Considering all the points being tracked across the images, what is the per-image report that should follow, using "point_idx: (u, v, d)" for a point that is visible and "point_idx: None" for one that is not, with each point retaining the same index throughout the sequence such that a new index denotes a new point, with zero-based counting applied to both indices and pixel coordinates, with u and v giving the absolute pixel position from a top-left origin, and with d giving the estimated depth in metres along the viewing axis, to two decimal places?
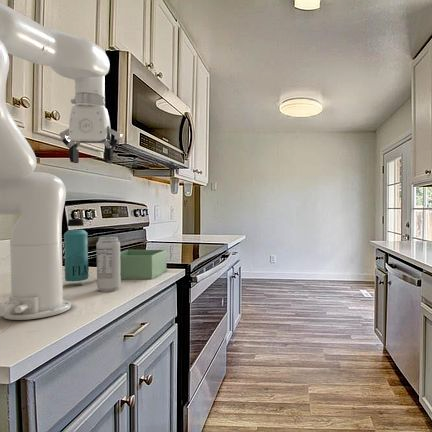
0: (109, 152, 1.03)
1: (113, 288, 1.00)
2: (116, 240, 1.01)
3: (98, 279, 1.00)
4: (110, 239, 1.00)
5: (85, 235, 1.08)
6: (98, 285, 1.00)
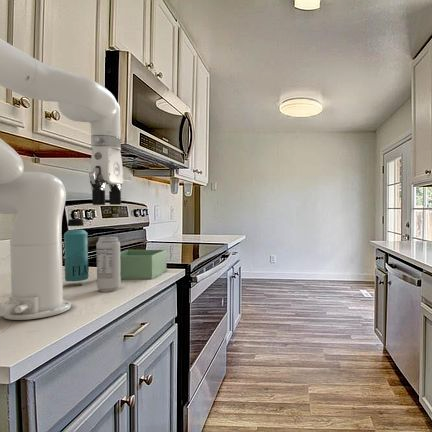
0: None
1: (113, 288, 1.00)
2: (116, 240, 1.01)
3: (98, 279, 1.00)
4: (110, 239, 1.00)
5: (85, 235, 1.08)
6: (98, 285, 1.00)
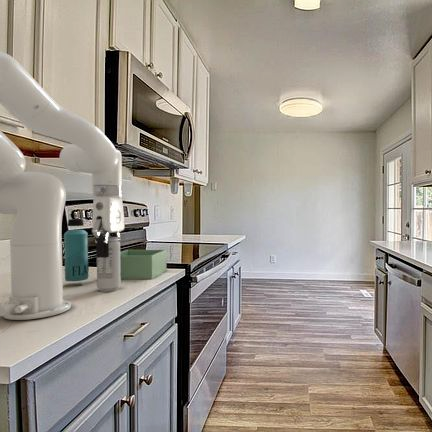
0: None
1: (113, 288, 1.00)
2: (116, 240, 1.01)
3: (98, 279, 1.00)
4: (110, 239, 1.00)
5: (85, 235, 1.08)
6: (98, 285, 1.00)
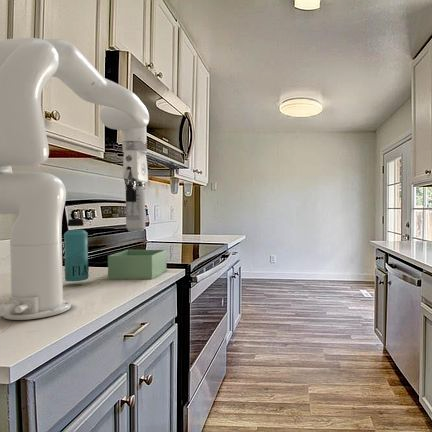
0: None
1: (139, 228, 1.19)
2: (142, 188, 1.20)
3: (127, 220, 1.19)
4: (137, 187, 1.19)
5: (85, 235, 1.08)
6: (127, 225, 1.19)
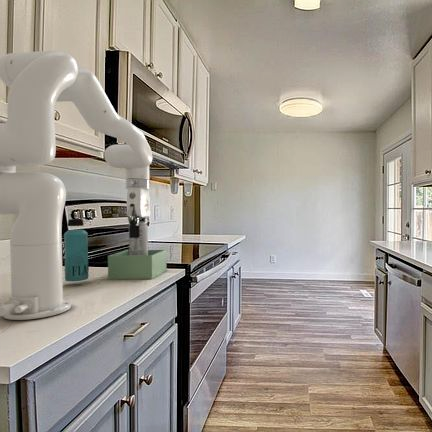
0: None
1: None
2: (145, 224, 1.23)
3: None
4: (140, 223, 1.22)
5: (85, 235, 1.08)
6: None
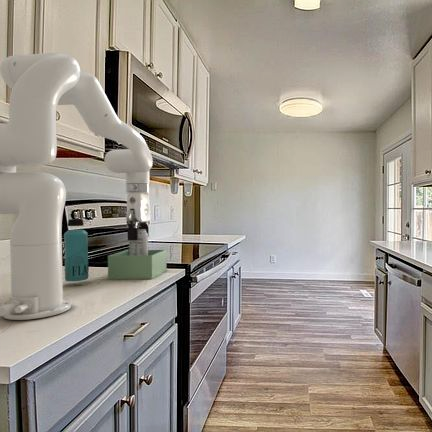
0: None
1: None
2: (145, 232, 1.23)
3: None
4: (140, 231, 1.22)
5: (85, 235, 1.08)
6: None
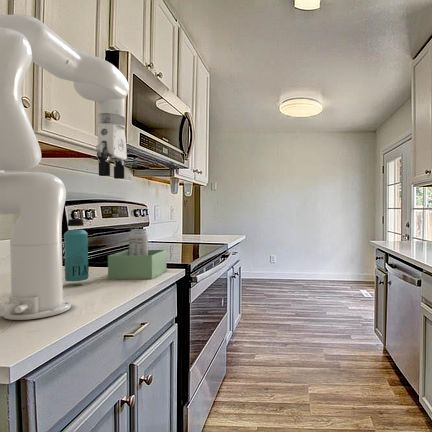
0: None
1: None
2: (145, 232, 1.23)
3: None
4: (140, 231, 1.22)
5: (85, 235, 1.08)
6: None
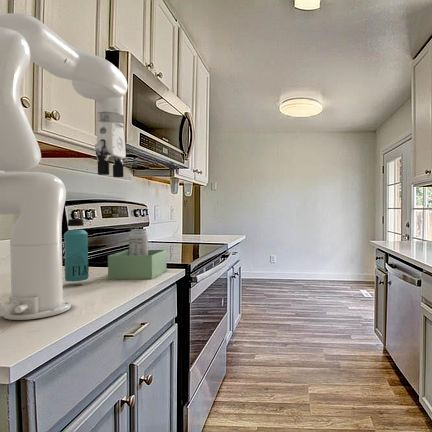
0: None
1: None
2: (145, 232, 1.23)
3: None
4: (140, 231, 1.22)
5: (85, 235, 1.08)
6: None
